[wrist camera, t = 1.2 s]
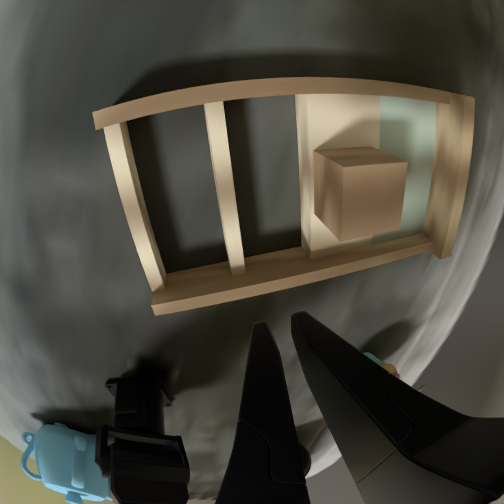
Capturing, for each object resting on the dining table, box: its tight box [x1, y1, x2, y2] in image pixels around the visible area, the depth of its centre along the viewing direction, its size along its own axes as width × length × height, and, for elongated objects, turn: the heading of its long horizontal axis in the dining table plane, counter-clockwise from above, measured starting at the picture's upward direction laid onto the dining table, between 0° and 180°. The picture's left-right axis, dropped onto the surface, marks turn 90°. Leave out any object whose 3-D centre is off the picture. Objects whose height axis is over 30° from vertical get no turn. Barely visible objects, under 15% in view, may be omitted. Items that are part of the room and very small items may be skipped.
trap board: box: [93, 77, 475, 316], centre depth 18 cm, size 14×25×5 cm, turn 96°
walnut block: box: [313, 147, 408, 242], centre depth 17 cm, size 4×4×4 cm
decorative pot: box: [21, 422, 113, 504], centre depth 29 cm, size 16×16×14 cm
